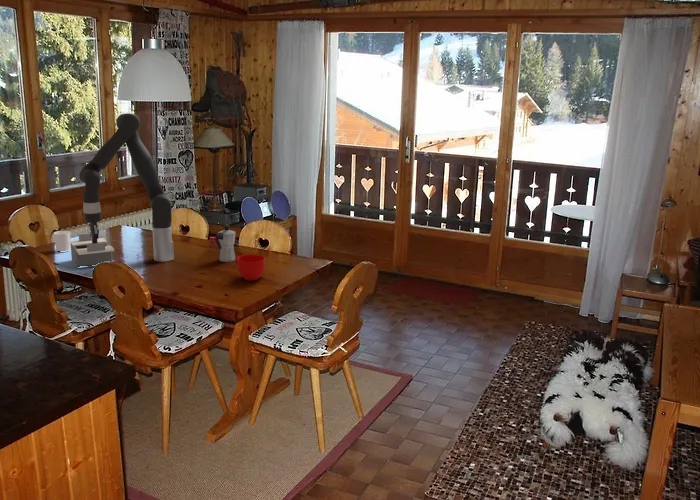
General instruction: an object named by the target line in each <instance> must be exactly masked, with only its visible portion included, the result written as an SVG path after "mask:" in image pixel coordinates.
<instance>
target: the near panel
mask: <svg viewBox="0 0 700 500" xmlns="http://www.w3.org/2000/svg"><path fill="white" fill-rule="evenodd" d="M76 251H77V253H78V254H79V255H83V254H92V253H101V252H110V251H111V252H115V248H114V247H113V246H112V245H109V246H105V243H104V242H103V243H94V244H87V248H84V249H76Z"/></svg>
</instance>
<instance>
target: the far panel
mask: <svg viewBox="0 0 700 500" xmlns="http://www.w3.org/2000/svg"><path fill="white" fill-rule="evenodd" d="M103 242H104V243H107V244H108V241H107V240H106V238H105V237H100V238H99V237H98V239H97V243H103ZM70 243H71V244H72V246H83V245H87V244H92V239H91V236H90V232H86V233H78V240H70ZM71 244H70V245H71Z"/></svg>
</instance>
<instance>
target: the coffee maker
mask: <svg viewBox="0 0 700 500" xmlns="http://www.w3.org/2000/svg"><path fill="white" fill-rule="evenodd" d="M229 228H230V226H229V225H224V229H223V230H221V231H219V232H217V235H215V237H214V241H215V244H216V245H217V247H218V249H219V250H220V253H219V262H224V263H232V262H236V254H235V253H236V252H235V249H234V245H235V241H236V231H235V230H230V229H229Z"/></svg>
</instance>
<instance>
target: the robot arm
mask: <svg viewBox="0 0 700 500" xmlns="http://www.w3.org/2000/svg"><path fill="white" fill-rule="evenodd" d="M115 122H116V127H117V129H116V131H115V132H114V134H113V135H112V136H111V137H110V138H109V139H108V140H107V141H106V142H105V143H104V144H103V145H102V146H101V147H100V148H99V149H98V151H97V152H96V154H94V156H93V158H92V159H91V160H90V161H89V162H87V163H86V164H85V166H83V167H82V169H81V170H80V171H79V175H78V176H79V177H78V178H79V180H80V182H82V183H84V184H85V186H84V187H85V188H84V190H83V191H82V199H83V200H82V201H83V206H82V207H83V217H84V219H83V220H84V222H85V223H89V224H88V225H87V226H88V231H89V232H88V233H90V236H91V239H92V244H94V243H97V239H98V238H99V236H100V235H99V234H100V230H99V225H98V222H101V221H102V210H101V203H100V193H99V192H100V185H101V179H100V171H102V170H104V169H106V168H107V167H108V166H109V164H110V163H111V161H112V160H113V159H114V158H115V156H116V154H117V153H118V152H119V150H120V149H121V148H122V147H123V146H124V144H125V145H126V147H127V150H128V153H129V156H130V157H131V160H132V161H131V162H132V163H133V165H134V168H135V171H136V174H137V175H138V177H139V179H140V181H141V182H142V185H143V186H144V187H145V191H146V193H147V197H148V199H149V204H150V207H151V212H152V213H151V214H152V216H151V218H152V222H151V225H152V226H151V227H152V229H151V230H152V241H153V242H152V245H153V260H154V261H156V262H169V261H172V260H175V252H174V251H175V250H174V241H173V237H172V235H173V234H172V219H173V218H172V203H171V201H170V199H169V198H168V196H167V195H166V193H165V191H164V190H163V189H164V188H163V187H162V185H161V183H160V178H159V174H158V171H157V170H158V169H157V167H156V164H155V162H154V160H153V157H152V155H151V153H150V151H149V150H148V148H147V146H146V145H145V144H144V143H143V141H142V140H141V138H140V135H139V133H138V130H139V129H140V126H141V120H140V118H139V116H137V115H136V114H134V113H130V112H129V113H122V114H119V115H118V116H117V118H116V121H115Z"/></svg>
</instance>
